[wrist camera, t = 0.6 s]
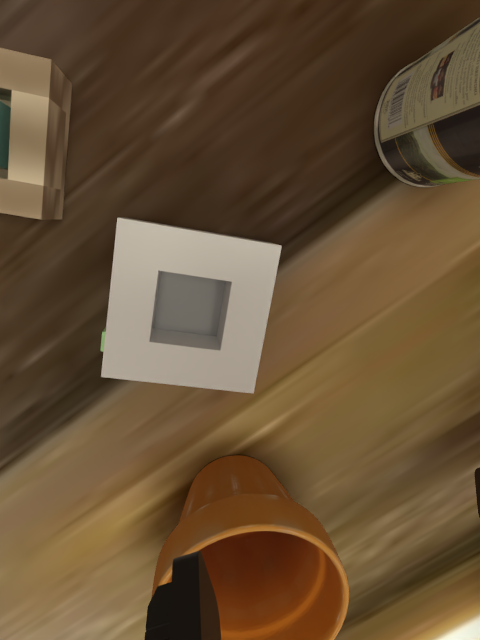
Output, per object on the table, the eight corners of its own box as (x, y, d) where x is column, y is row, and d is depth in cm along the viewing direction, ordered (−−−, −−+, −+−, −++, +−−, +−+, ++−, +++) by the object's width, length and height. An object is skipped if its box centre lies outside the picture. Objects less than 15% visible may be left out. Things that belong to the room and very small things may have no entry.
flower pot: (157, 555, 42) (146, 699, 29) (163, 428, 39) (153, 529, 26) (292, 550, 44) (336, 683, 31) (308, 429, 41) (364, 524, 28)
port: (122, 216, 34) (111, 216, 29) (268, 242, 36) (281, 245, 31) (107, 355, 36) (95, 376, 31) (244, 371, 38) (253, 393, 33)
